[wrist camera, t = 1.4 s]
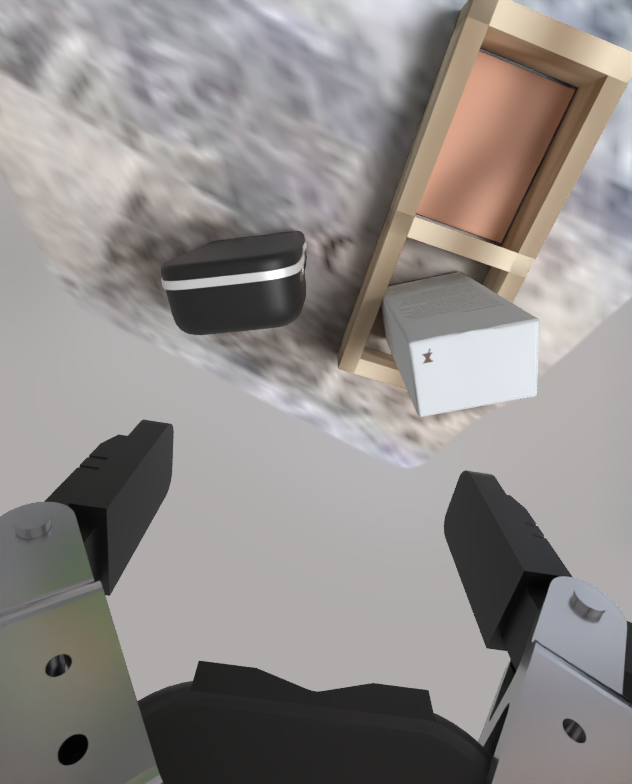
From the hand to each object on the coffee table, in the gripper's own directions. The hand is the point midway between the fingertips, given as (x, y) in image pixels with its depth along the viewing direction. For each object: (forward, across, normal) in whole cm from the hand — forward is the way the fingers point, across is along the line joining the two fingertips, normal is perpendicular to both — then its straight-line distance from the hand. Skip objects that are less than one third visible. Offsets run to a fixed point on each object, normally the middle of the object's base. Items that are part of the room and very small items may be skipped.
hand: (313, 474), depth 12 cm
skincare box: (+21, -7, -2) cm, 23 cm away
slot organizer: (+21, -8, -7) cm, 24 cm away
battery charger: (+21, +5, -3) cm, 22 cm away
